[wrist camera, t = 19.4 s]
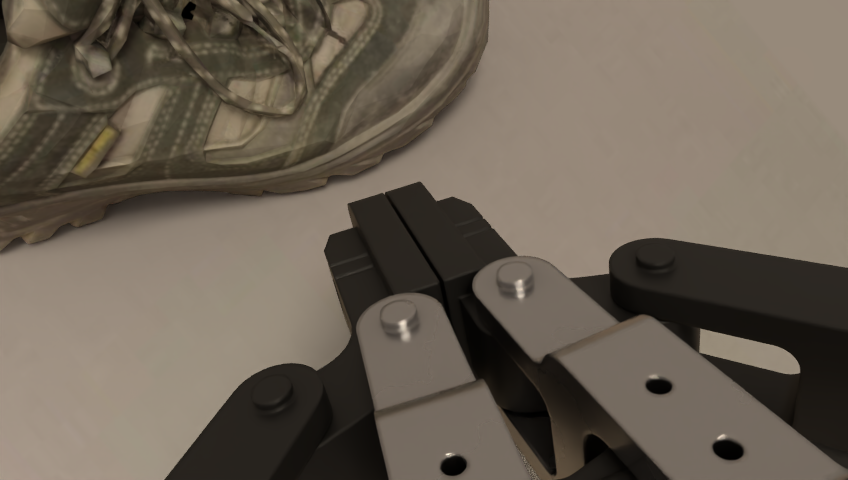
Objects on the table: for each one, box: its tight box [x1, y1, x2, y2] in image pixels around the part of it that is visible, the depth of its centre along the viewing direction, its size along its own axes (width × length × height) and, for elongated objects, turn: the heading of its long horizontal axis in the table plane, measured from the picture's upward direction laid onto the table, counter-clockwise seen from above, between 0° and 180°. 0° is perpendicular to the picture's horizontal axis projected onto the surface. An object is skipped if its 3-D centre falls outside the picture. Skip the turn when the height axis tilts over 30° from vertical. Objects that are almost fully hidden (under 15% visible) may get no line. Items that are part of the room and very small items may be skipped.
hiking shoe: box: [0, 0, 489, 251], centre depth 20 cm, size 9×21×12 cm
